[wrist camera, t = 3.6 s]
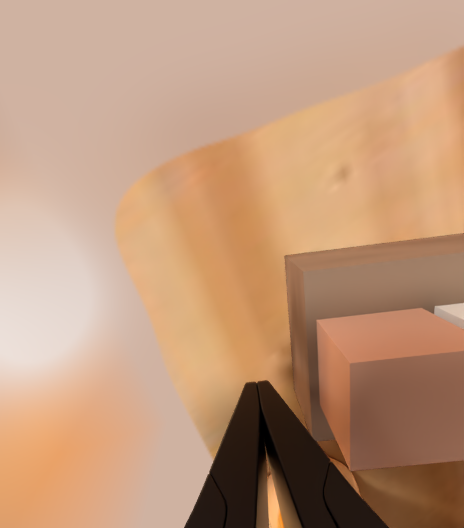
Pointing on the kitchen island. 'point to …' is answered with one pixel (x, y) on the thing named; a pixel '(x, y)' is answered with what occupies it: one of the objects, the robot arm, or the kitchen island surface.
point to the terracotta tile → (393, 387)
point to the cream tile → (451, 313)
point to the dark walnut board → (363, 297)
